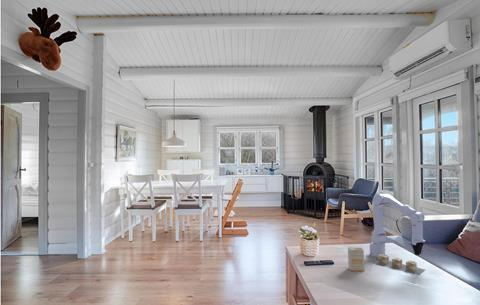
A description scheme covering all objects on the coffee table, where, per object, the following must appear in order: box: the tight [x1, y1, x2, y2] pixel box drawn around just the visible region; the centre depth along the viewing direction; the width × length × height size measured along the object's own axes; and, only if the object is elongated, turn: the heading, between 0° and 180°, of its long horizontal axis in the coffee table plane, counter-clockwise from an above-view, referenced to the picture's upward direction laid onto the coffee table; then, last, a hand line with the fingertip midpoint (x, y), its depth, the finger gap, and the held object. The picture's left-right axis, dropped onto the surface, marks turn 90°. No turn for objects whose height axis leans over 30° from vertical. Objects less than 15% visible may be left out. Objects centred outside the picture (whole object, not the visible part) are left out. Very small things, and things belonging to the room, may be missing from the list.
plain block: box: [391, 256, 403, 268], centre depth 180 cm, size 4×4×4 cm
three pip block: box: [405, 259, 418, 271], centre depth 174 cm, size 4×4×5 cm
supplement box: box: [347, 246, 365, 272], centre depth 176 cm, size 8×5×13 cm, turn 84°
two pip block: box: [378, 254, 390, 264], centre depth 186 cm, size 4×4×5 cm
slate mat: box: [370, 257, 426, 276], centre depth 180 cm, size 28×12×1 cm, turn 42°
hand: (417, 254), depth 175 cm, fingers open, 3 cm apart
